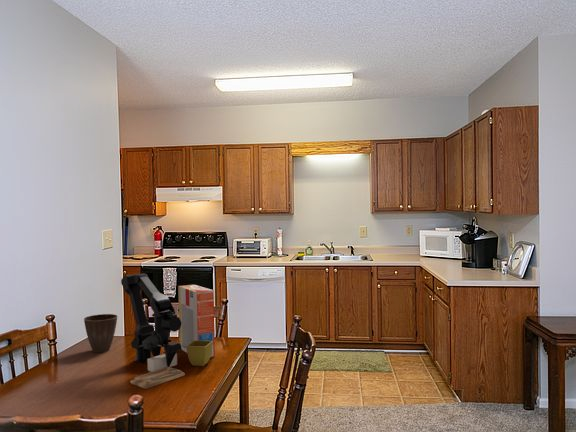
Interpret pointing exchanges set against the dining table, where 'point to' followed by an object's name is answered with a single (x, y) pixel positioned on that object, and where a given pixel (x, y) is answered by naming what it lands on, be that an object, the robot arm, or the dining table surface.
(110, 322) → the plant pot
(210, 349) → the flower pot
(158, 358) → the door
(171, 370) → the beige rectangular tray
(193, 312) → the pasta box
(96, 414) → the dining table surface
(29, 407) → the dining table surface
